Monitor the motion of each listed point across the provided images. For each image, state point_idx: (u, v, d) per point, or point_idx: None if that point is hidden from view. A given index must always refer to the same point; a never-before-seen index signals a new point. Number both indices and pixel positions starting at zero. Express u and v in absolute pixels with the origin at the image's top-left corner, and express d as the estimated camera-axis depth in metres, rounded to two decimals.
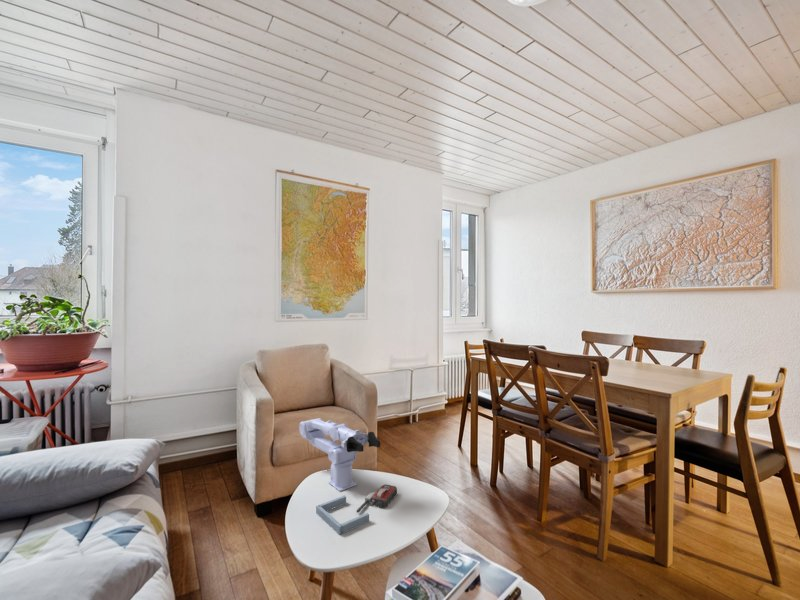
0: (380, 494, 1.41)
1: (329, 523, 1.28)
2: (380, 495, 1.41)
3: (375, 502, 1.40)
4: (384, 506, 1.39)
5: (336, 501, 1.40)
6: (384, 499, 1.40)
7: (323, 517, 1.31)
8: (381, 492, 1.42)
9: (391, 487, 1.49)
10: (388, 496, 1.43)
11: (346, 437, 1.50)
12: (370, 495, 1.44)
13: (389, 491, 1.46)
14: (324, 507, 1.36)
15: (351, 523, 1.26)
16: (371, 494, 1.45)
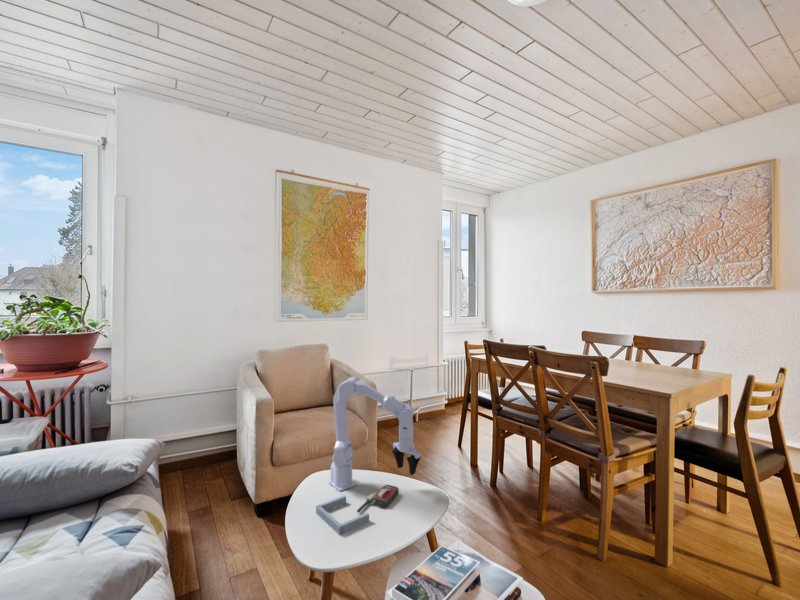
0: (381, 494, 1.41)
1: (329, 523, 1.28)
2: (381, 495, 1.41)
3: (376, 502, 1.40)
4: (385, 506, 1.39)
5: (336, 501, 1.40)
6: (385, 499, 1.40)
7: (323, 517, 1.31)
8: (382, 492, 1.42)
9: (393, 487, 1.48)
10: (389, 496, 1.42)
11: (411, 440, 1.50)
12: (371, 495, 1.44)
13: (390, 491, 1.45)
14: (324, 507, 1.36)
15: (351, 523, 1.26)
16: (372, 494, 1.45)
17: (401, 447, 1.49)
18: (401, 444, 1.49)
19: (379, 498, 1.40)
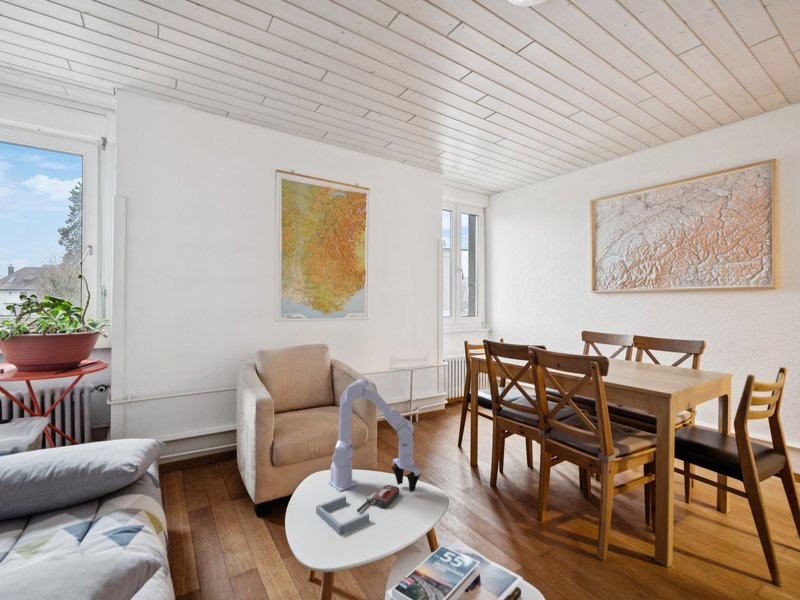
0: (381, 494, 1.41)
1: (329, 523, 1.28)
2: (381, 495, 1.41)
3: (376, 502, 1.40)
4: (385, 506, 1.39)
5: (336, 501, 1.40)
6: (385, 499, 1.40)
7: (323, 517, 1.31)
8: (382, 492, 1.42)
9: (393, 488, 1.48)
10: (389, 496, 1.42)
11: (411, 457, 1.50)
12: (372, 495, 1.44)
13: (391, 492, 1.45)
14: (324, 507, 1.36)
15: (351, 523, 1.26)
16: (373, 494, 1.45)
17: (401, 464, 1.49)
18: (401, 461, 1.49)
19: (379, 498, 1.40)
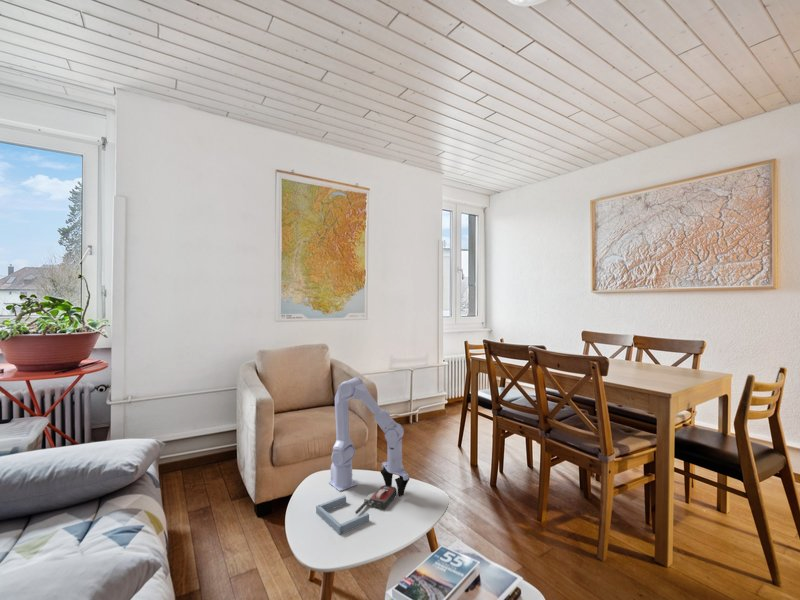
0: (379, 495, 1.40)
1: (329, 523, 1.28)
2: (379, 496, 1.40)
3: (374, 503, 1.39)
4: (383, 507, 1.38)
5: (336, 501, 1.40)
6: (383, 500, 1.39)
7: (323, 517, 1.31)
8: (380, 493, 1.41)
9: (390, 488, 1.47)
10: (387, 497, 1.41)
11: (400, 460, 1.46)
12: (369, 496, 1.43)
13: (388, 492, 1.44)
14: (324, 507, 1.36)
15: (351, 523, 1.26)
16: (370, 495, 1.44)
17: (389, 468, 1.46)
18: (389, 465, 1.46)
19: (377, 499, 1.39)
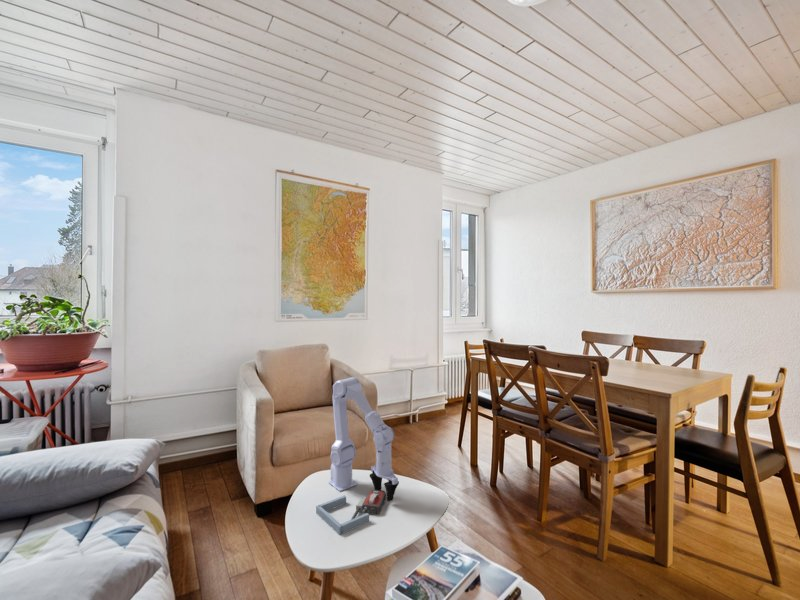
0: (372, 500, 1.37)
1: (329, 523, 1.28)
2: (372, 501, 1.36)
3: (367, 509, 1.35)
4: (377, 512, 1.35)
5: (336, 501, 1.40)
6: (377, 505, 1.36)
7: (323, 517, 1.31)
8: (373, 498, 1.38)
9: (380, 492, 1.45)
10: (380, 501, 1.39)
11: (389, 464, 1.43)
12: (360, 502, 1.39)
13: (379, 496, 1.42)
14: (324, 507, 1.36)
15: (351, 523, 1.26)
16: (361, 501, 1.40)
17: (378, 472, 1.42)
18: (378, 469, 1.42)
19: (370, 504, 1.36)
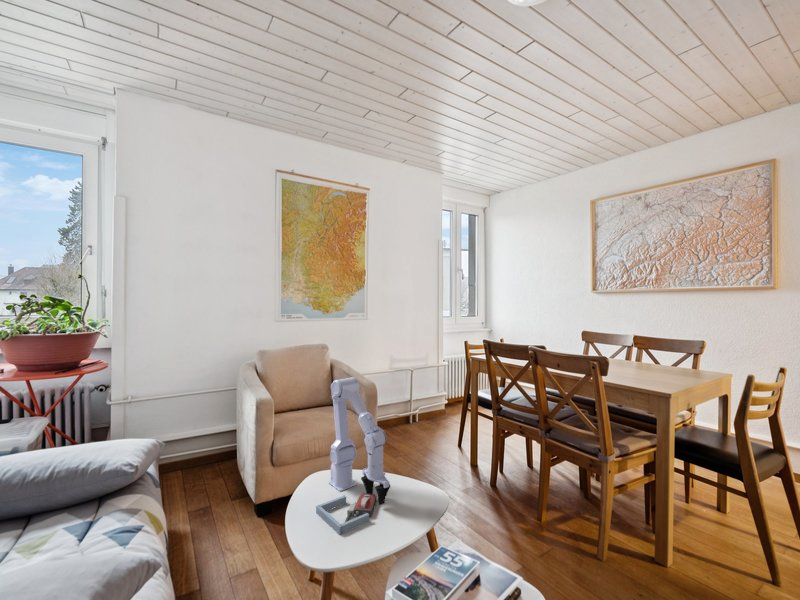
0: (364, 504, 1.34)
1: (329, 523, 1.28)
2: (364, 505, 1.34)
3: (359, 513, 1.33)
4: (369, 516, 1.33)
5: (336, 501, 1.40)
6: (369, 509, 1.34)
7: (323, 517, 1.31)
8: (364, 502, 1.35)
9: (371, 495, 1.43)
10: (371, 505, 1.36)
11: (381, 467, 1.40)
12: (352, 507, 1.36)
13: (370, 500, 1.39)
14: (324, 507, 1.36)
15: (351, 523, 1.26)
16: (352, 505, 1.37)
17: (370, 475, 1.40)
18: (370, 472, 1.40)
19: (362, 508, 1.34)
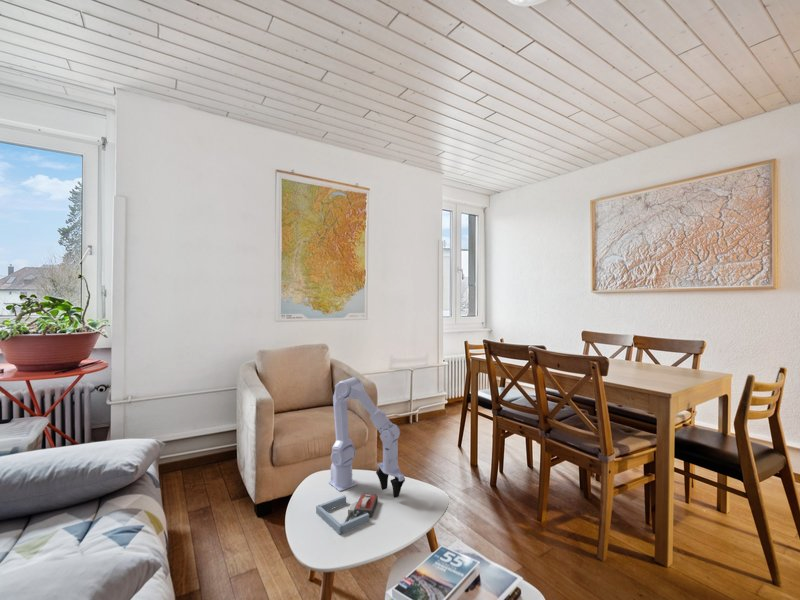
0: (364, 504, 1.34)
1: (329, 523, 1.28)
2: (365, 505, 1.34)
3: (360, 513, 1.33)
4: (370, 516, 1.33)
5: (336, 501, 1.40)
6: (369, 509, 1.33)
7: (323, 517, 1.31)
8: (365, 502, 1.35)
9: (372, 495, 1.42)
10: (372, 504, 1.36)
11: (396, 461, 1.45)
12: (352, 506, 1.36)
13: (371, 499, 1.39)
14: (324, 507, 1.36)
15: (351, 523, 1.26)
16: (353, 505, 1.37)
17: (385, 469, 1.45)
18: (385, 466, 1.45)
19: (363, 508, 1.33)
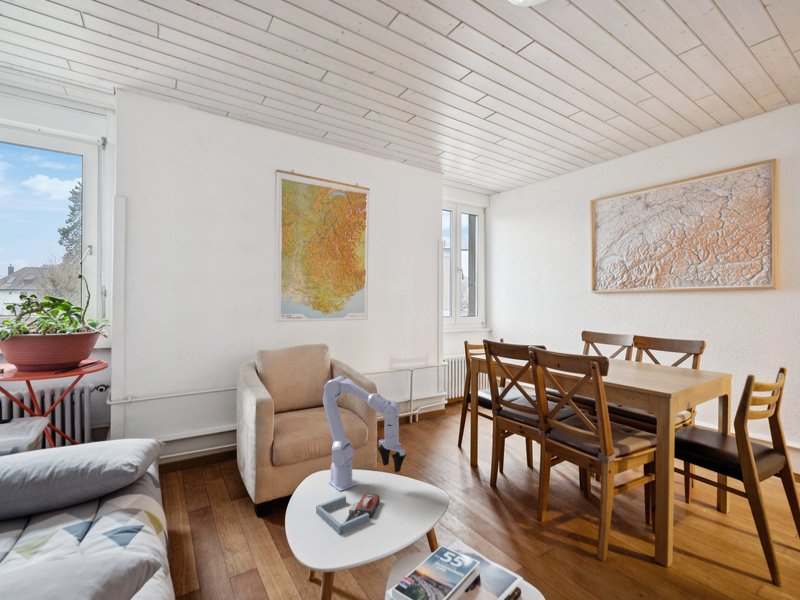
0: (365, 504, 1.34)
1: (329, 523, 1.28)
2: (366, 505, 1.34)
3: (360, 513, 1.33)
4: (371, 516, 1.33)
5: (336, 501, 1.40)
6: (370, 509, 1.33)
7: (323, 517, 1.31)
8: (366, 502, 1.35)
9: (374, 495, 1.42)
10: (373, 505, 1.36)
11: (397, 437, 1.49)
12: (354, 506, 1.36)
13: (373, 500, 1.39)
14: (324, 507, 1.36)
15: (351, 523, 1.26)
16: (354, 505, 1.37)
17: (386, 444, 1.49)
18: (386, 441, 1.49)
19: (364, 508, 1.34)
